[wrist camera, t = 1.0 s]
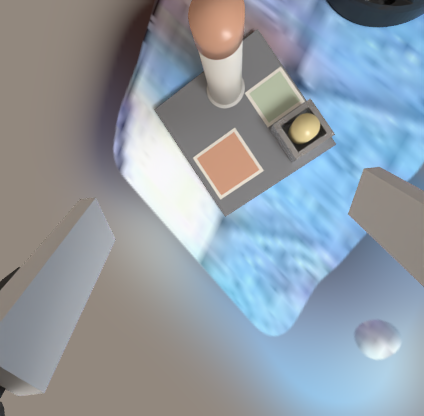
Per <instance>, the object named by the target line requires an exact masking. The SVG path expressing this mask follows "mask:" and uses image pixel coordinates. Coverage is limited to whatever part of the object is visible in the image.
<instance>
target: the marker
mask: <svg viewBox="0 0 424 416" xmlns="http://www.w3.org/2000/svg"><path fill="white" fill-rule="evenodd" d="M188 19H189V24H190V28H191V31H192V35H193V38H194V42H195V45H196V47H197V49H198V51H199V55H200V59H201V62H202V66H203V69H204V73H205V76H206V80H207V83H208V87H209V91H210V94H211V97H212V99H213V100H214V101H215V102H216V103H218V104H221V105H228V104H231V103H233V102H235V101H236V100H237V99H238V97H239V96H240V93H241V89H242V47H243V37H244V19H245V6H244V1H243V0H192V2H191V4H190V7H189V13H188Z"/></svg>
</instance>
